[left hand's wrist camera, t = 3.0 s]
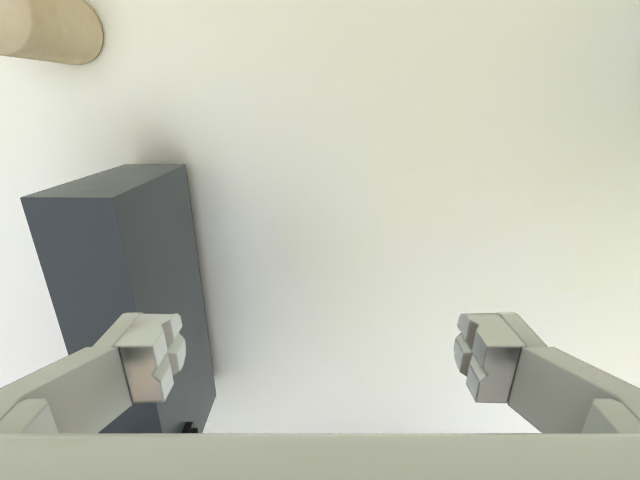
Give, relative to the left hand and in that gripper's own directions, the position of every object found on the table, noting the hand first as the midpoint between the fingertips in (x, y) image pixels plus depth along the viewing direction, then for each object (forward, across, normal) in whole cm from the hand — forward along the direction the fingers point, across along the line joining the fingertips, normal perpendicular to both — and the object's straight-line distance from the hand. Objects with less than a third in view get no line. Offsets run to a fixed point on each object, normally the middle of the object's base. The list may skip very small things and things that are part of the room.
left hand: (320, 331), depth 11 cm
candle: (+27, -22, +12) cm, 37 cm away
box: (+25, -16, -14) cm, 32 cm away
